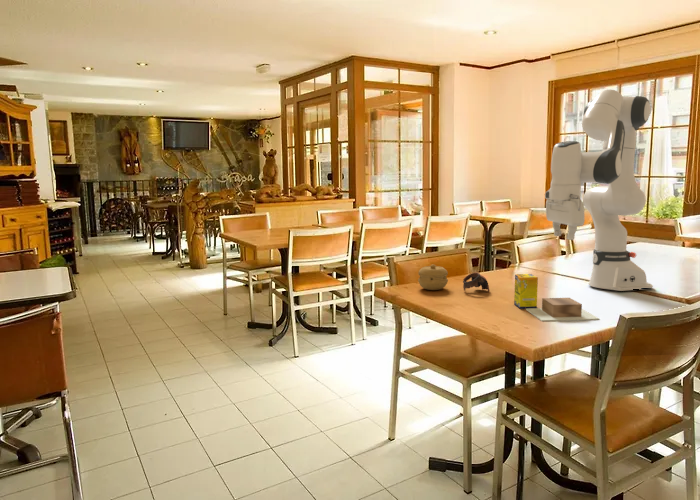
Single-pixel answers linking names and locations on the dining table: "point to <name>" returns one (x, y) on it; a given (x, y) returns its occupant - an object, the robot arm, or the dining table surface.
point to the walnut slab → (561, 307)
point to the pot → (433, 277)
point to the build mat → (546, 317)
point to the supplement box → (525, 291)
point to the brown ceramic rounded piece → (475, 281)
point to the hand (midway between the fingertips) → (563, 237)
